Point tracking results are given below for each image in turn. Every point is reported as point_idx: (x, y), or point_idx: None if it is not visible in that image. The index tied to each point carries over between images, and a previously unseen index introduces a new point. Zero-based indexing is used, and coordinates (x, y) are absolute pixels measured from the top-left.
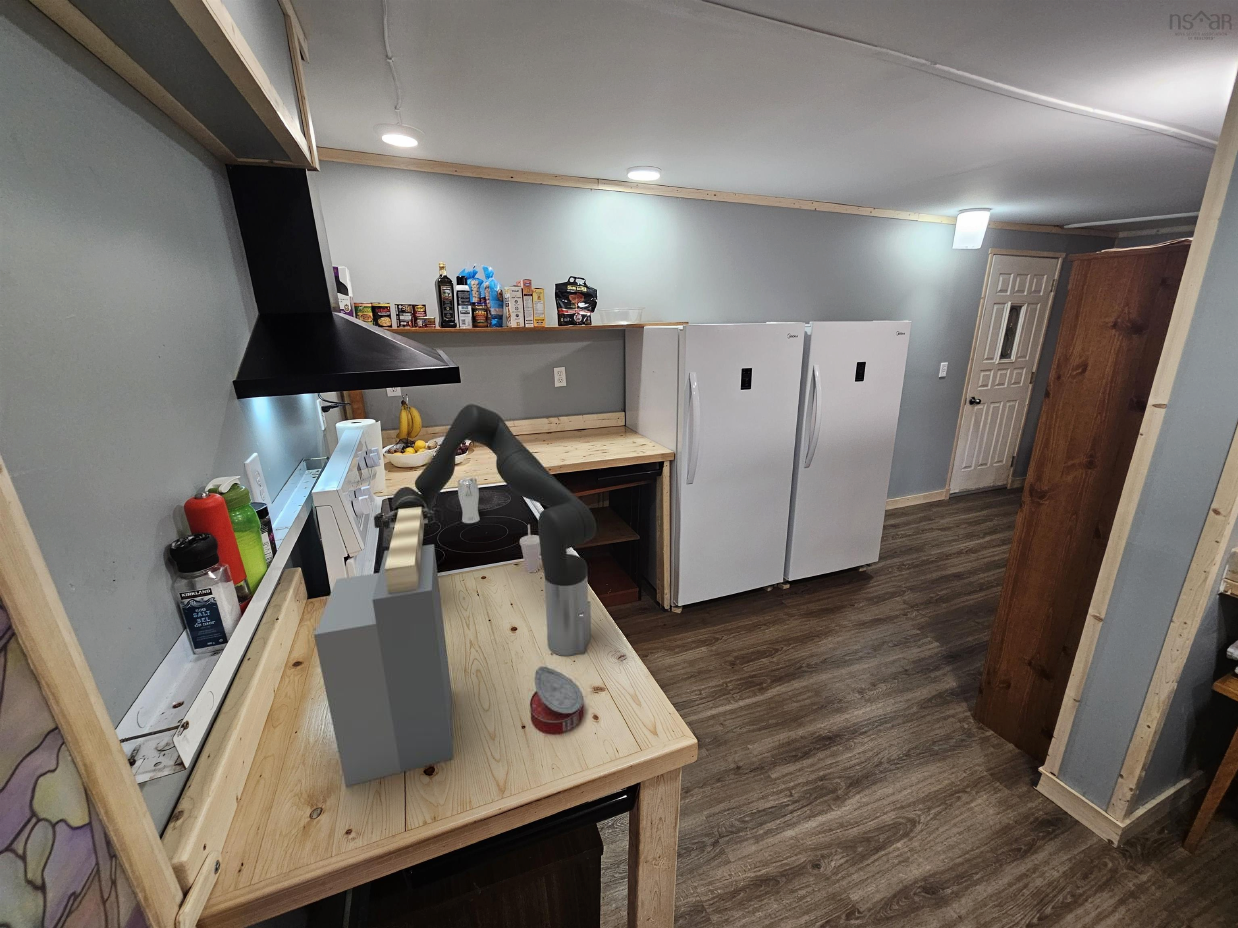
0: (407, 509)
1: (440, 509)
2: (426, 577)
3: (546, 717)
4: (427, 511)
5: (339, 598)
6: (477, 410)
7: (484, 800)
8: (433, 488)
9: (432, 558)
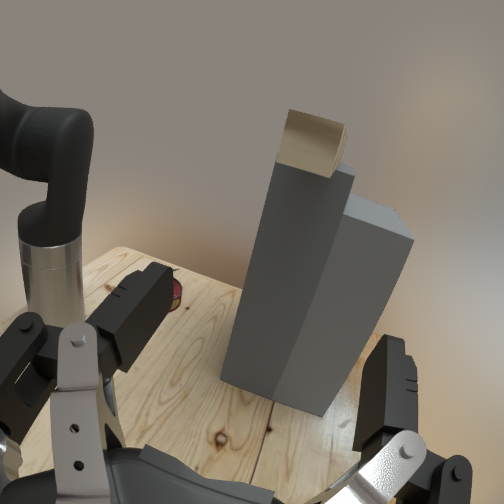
0: (323, 119)
1: (15, 329)
2: None
3: (176, 285)
4: (97, 349)
5: (392, 219)
6: None
7: None
8: None
9: None
